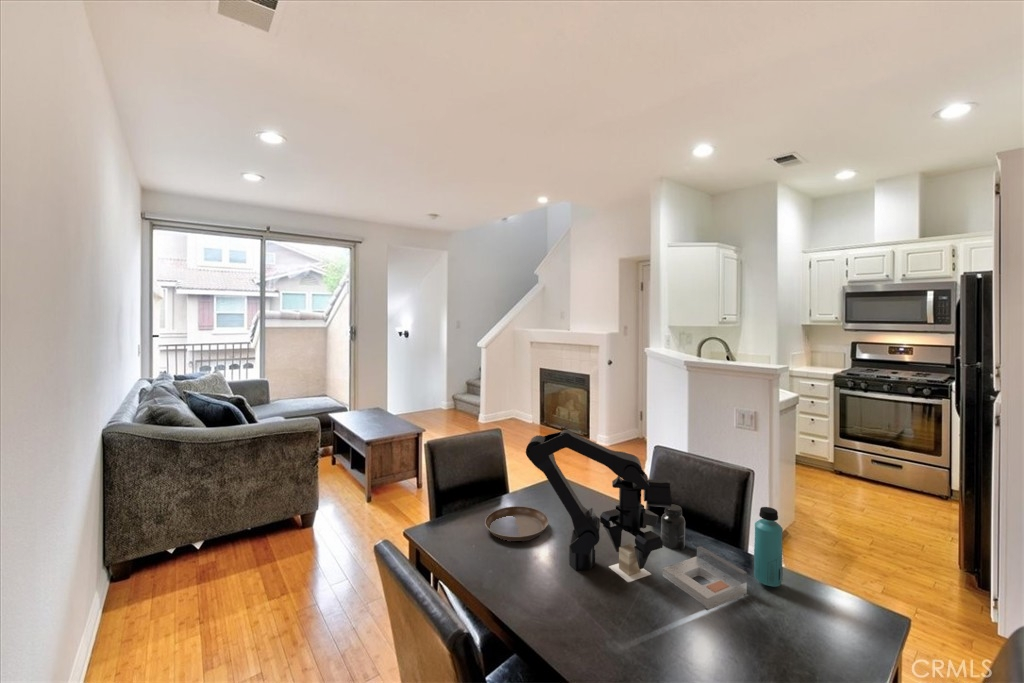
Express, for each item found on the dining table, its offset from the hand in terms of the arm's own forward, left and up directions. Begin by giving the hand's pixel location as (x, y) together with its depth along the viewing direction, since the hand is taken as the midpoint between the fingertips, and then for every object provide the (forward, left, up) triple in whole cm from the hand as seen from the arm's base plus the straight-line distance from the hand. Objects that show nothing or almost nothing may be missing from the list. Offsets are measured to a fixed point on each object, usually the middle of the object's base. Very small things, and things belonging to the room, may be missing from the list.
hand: (629, 559), depth 119 cm
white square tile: (0, 0, -4) cm, 4 cm away
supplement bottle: (+21, +5, -4) cm, 22 cm away
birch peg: (0, 0, -3) cm, 3 cm away
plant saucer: (-16, +36, -4) cm, 39 cm away
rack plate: (+13, -13, -4) cm, 19 cm away
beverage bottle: (+28, -20, -4) cm, 35 cm away
